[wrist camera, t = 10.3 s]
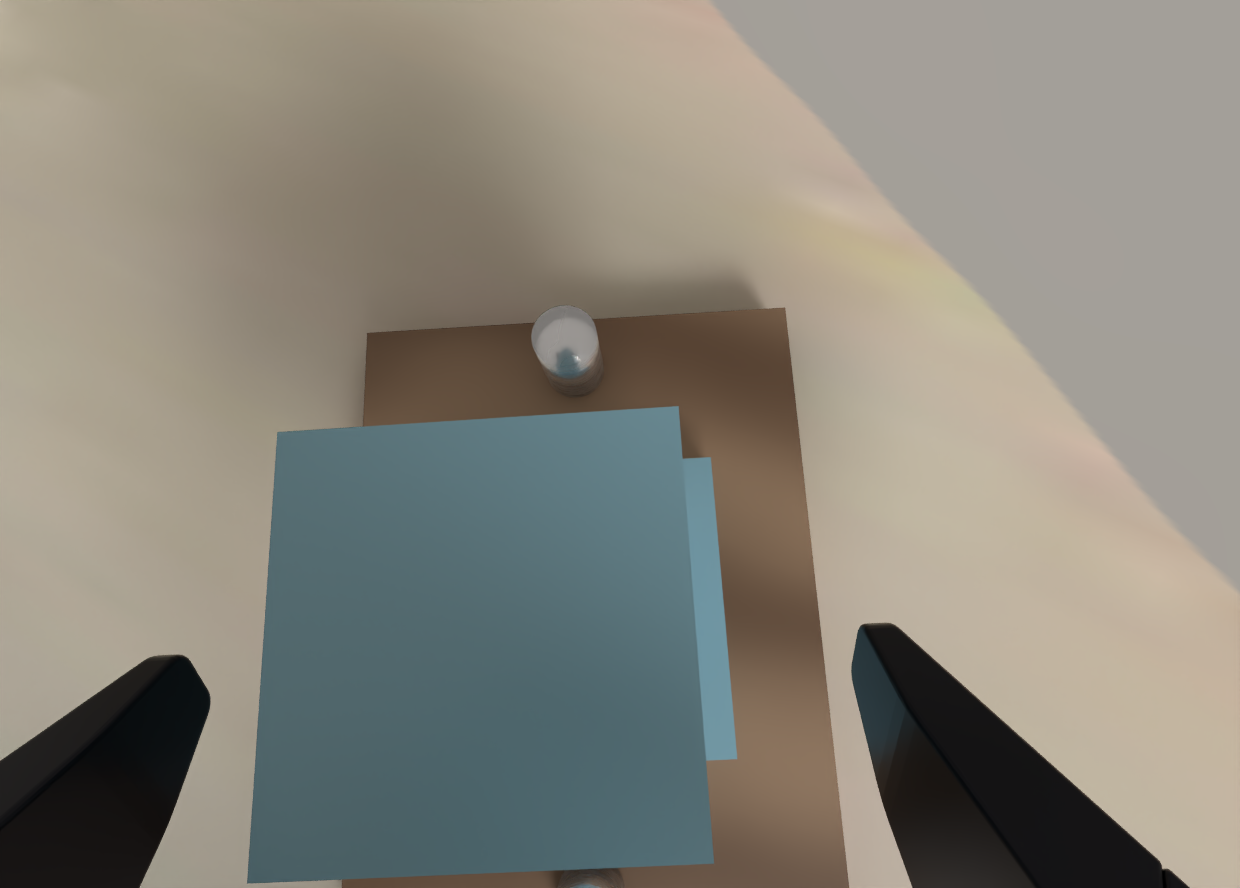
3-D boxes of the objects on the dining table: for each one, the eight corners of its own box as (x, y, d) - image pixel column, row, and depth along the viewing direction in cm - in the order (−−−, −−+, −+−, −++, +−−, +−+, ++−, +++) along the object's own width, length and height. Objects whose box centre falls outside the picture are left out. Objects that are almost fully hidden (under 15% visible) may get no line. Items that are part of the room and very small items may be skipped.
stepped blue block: (730, 746, 16) (875, 1023, 6) (447, 760, 16) (95, 1050, 6) (706, 466, 17) (785, 286, 7) (449, 482, 18) (173, 329, 7)
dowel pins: (627, 930, 15) (622, 995, 13) (558, 932, 15) (540, 997, 13) (602, 341, 18) (595, 303, 16) (546, 345, 18) (530, 307, 16)
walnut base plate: (838, 926, 16) (856, 959, 15) (365, 939, 17) (338, 973, 15) (775, 328, 20) (785, 307, 18) (387, 351, 20) (367, 333, 19)
